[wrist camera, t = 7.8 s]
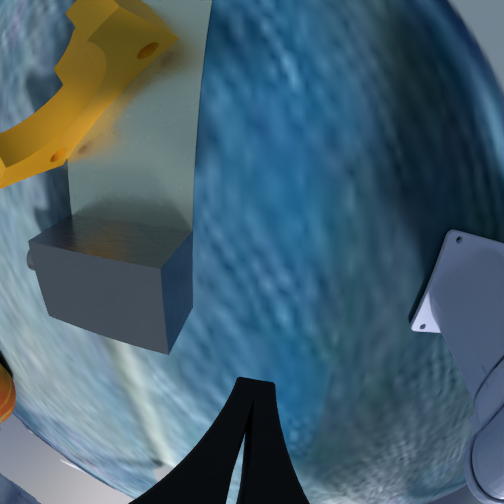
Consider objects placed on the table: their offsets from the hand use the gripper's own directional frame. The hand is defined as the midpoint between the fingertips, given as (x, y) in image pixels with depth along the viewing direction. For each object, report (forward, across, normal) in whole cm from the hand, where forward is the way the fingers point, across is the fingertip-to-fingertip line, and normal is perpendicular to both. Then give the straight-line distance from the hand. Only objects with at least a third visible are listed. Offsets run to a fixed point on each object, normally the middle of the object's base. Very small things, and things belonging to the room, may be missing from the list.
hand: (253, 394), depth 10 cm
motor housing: (+9, +12, -7) cm, 17 cm away
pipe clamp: (+10, +13, -11) cm, 20 cm away
